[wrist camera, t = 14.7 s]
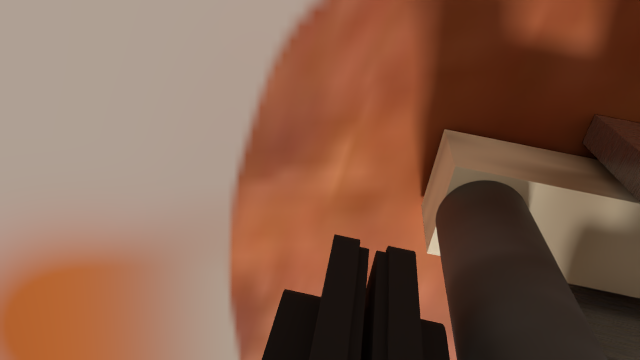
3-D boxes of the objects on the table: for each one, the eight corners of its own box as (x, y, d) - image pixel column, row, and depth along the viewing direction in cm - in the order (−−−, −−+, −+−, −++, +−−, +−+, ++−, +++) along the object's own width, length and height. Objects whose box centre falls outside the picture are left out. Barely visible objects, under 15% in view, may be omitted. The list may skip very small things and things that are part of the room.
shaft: (687, 177, 16) (1080, 486, 7) (644, 251, 17) (923, 590, 8) (441, 128, 16) (505, 359, 7) (418, 205, 17) (447, 479, 8)
